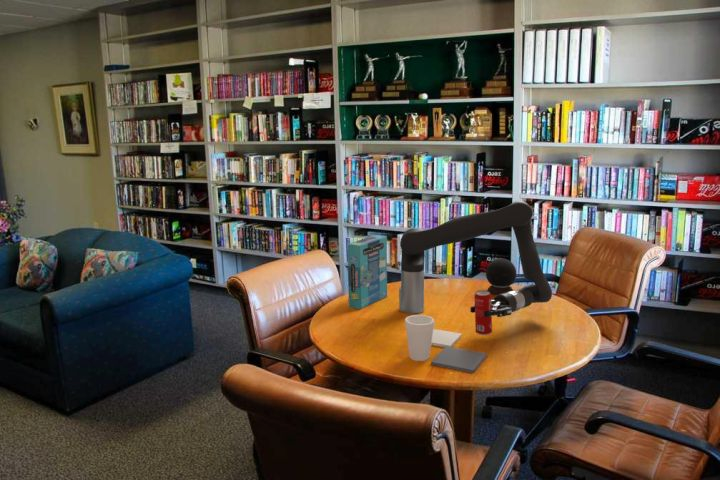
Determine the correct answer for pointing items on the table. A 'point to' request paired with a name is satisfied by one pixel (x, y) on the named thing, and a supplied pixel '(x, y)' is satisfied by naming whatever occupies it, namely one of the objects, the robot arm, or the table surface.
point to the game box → (367, 271)
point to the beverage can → (482, 305)
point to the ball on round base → (500, 276)
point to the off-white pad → (444, 338)
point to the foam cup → (419, 336)
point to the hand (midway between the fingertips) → (477, 312)
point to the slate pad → (459, 359)
